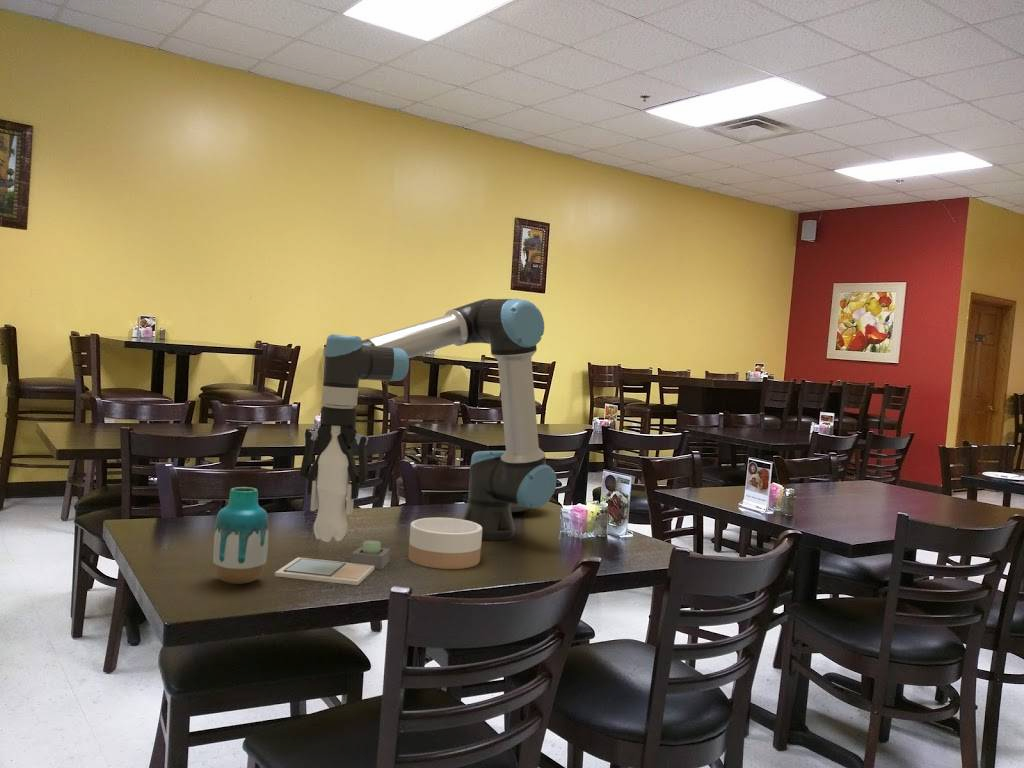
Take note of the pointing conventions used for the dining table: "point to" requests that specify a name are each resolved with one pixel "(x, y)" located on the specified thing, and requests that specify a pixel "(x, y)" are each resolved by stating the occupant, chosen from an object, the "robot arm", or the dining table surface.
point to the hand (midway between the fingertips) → (331, 511)
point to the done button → (371, 547)
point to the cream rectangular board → (325, 571)
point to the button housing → (371, 558)
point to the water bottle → (332, 491)
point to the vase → (241, 538)
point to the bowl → (445, 543)
